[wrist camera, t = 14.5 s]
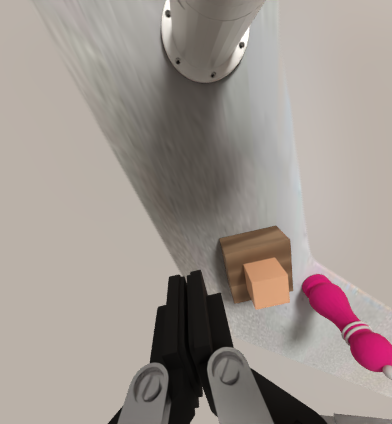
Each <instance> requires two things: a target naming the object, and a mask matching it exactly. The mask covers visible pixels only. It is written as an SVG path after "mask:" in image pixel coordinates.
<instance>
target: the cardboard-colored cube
mask: <svg viewBox="0 0 392 424" xmlns="http://www.w3.org/2000/svg"><path fill="white" fill-rule="evenodd" d="M243 266H244V272H245V278H246V284H247V290H248V292H249V295H250V297H251V299H252V302H253V304H254V307H255V309H261V308H266V307H270V306H275V305H280V304H284V303H289V302H290V299H289V284H288V274H287V273H286V272H285V270H284V269H283V268H282V266H281V265H280V263H279V262H278V261H277V259H276V258H275V257H274V258H270V259H265V260H261V261H256V262H252V263H247V264H243Z"/></svg>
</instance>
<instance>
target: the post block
mask: <svg viewBox="0 0 392 424" xmlns="http://www.w3.org/2000/svg"><path fill="white" fill-rule="evenodd" d="M219 240H220V244H221V249H222V254H223V259H224V264H225V269H226V274H227V279H228V283H229V287H230V290H231V293H232V297H233V300H234V303H240V302H245V301H249V300H252V299H251V297H250V295H249V292H248V290H247V284H246V278H245V272H244V266H243V264H247V263H252V262H256V261H261V260H265V259H270V258H274V257H275V258H276V259H277V261H278V262H279V263H280V265H281V266H282V268H283V269H284V270H285V272H286V273H287V274H288V284H289V292H290V291H293V280H292V263H291V245H290V239H289V238H288V237H287V236H286V235H285V234H284V233H283V232H282V231H281V230H280V229H279V228H278V227H277V226H272V227H268V228H263V229H259V230H255V231H250V232H246V233H241V234H237V235H233V236H228V237H224V238H219Z"/></svg>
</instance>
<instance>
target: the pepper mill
mask: <svg viewBox="0 0 392 424" xmlns="http://www.w3.org/2000/svg"><path fill="white" fill-rule="evenodd" d="M302 290H303V292H304V293H305V295H306V296H307V297H308V298H309V302H310V305H311V306H312V307H313V309H314V310H315V311H316V312H318V313H319V314H320V315H322V316H324V317H325V318H327V319H329V320H330V321H332V322H333V323H334V324H335V325H336V326H337V327H338V328H339V329H340V331H341V333H342V338H343V339H344V340H345V341H346V343H347V344H348V345H349V346H350V350H351V353H352V355H353V357H354V358H355V360H356V361H357V362H358V363H359V364H360V365H362V366H363V367H364V368H366V369H368V370H370V371H374V372H383V373H384V374H385V376H386V377H388V378H389V379H392V345H391V344H390V342H389V341H388V340H387V339H386V338H384V337H383V336H381V335H380V334H377V333H374V331H373V329H372V328H371V327H369V325H368V324H367V323H366V322H363V321H360V320H359V319H358V318H357V317H356V315H355V314H354V313H353V311H352V310H351V307H350V305H349V302H348V299H347V297H346V295H345V293H344V292H343V291H342V290H341V288H340V287H338V286H337V285H335V284H332V283H331V282H330V281H329V279H328V278H327V277H325V276H324V275H320V274H316V275H312V276H310V277H308V278H307V279H306V280H305V281H304V283H303V285H302Z"/></svg>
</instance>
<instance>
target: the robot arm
mask: <svg viewBox="0 0 392 424" xmlns="http://www.w3.org/2000/svg"><path fill="white" fill-rule="evenodd" d="M265 1H266V0H166V2H165V5H164V8H163V12H162V18H161V33H162V39H163V44H164V48H165V51H166V53H167V56H168V58H169V60H170V61H171V63H172V65H173V66H174V67H175V68H176V69H177V71H178V72H179V73H181V74H182V75H183V76H184V77H186V78H188V79H190V80H192V81H195V82H199V83H211V82H216V81H218V80H220V79H223V78H224V77H226V76H227V75H228V74H230V73H231V72H232V71H233V70H234V69H235V67H236V66H237V65H238V63H239V62H240V60H241V59H242V57H243V55H244V53H245V50H246V48H247V44H248V39H249V31H250V25H251V23H252V21H253V20H254V18H255V17H256V15H257V13H258V12H259V10H260V9H261V7H262V6H263V4H264V2H265ZM168 15H169V16H170V18H167V16H168ZM239 46H241V47H242V49H240V48H239ZM177 61H179V62H180V64H177V63H176V62H177ZM212 74H213V75H214V78H212V77H211V75H212ZM202 387H203V390H204V392H205V395H206V398H207V400H208V403H209V406H210V409H211V411H212V412H213V413H214V414H215V415H216V416H217V417H218V419H219V423H220V424H392V419H382V418H372V417H361V416H351V415H342V414H334V417H333V416H323V415H319V414H318V413H316V412H315V411H314V410H312V409H311V408H309V407H308V406H306V405H305V404H303V403H302V402H300V401H299V400H297V399H296V398H294V397H293V396H291V395H290V394H288V393H287V392H286V391H284V390H283V389H281V388H280V387H278V386H277V385H275V384H274V383H272V382H271V381H269V380H268V379H266V378H265V377H263V376H262V375H260V374H259V373H257V372H256V371H254V370H253V369H251V368H250V367H249V365H248V362H247V360H246V358H245V357H244V355H243V354H242V353H241V352H240V351H239V350H237V349H235V348H234V347H233V343H232V339H231V334H230V330H229V326H228V321H227V317H226V313H225V309H224V304H223V300H222V296H221V293H217V294H213V295H208V294H207V291H206V287H205V283H204V280H203V276H202V272H201V270H197V271H192V272H190V275H188V276H187V283H186V280H185V277H184V276H183V277H181V276H180V275H175V276H170V277H169V281H168V292H167V302H166V305H164V306H160V307H158V309H157V315H156V322H155V329H154V336H153V343H152V350H151V357H150V364H147V365H145V366H144V367H142V368H141V369H140V370H139V371H138V372H137V373H136V375H135V376H134V377H133V379H132V382H131V384H130V387H129V390H128V393H127V396H126V399H125V402H124V405H123V406H122V408H121V409H120V410H119V411H118V412H117V413H116V415H115V416H114V417H113V418H112V419H111V421H110V422H109V423H108V424H190V422H191V420H192V419H193V417H194V416H195V408H198V407H199V398H198V397H202V396H203V390H202Z"/></svg>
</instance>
